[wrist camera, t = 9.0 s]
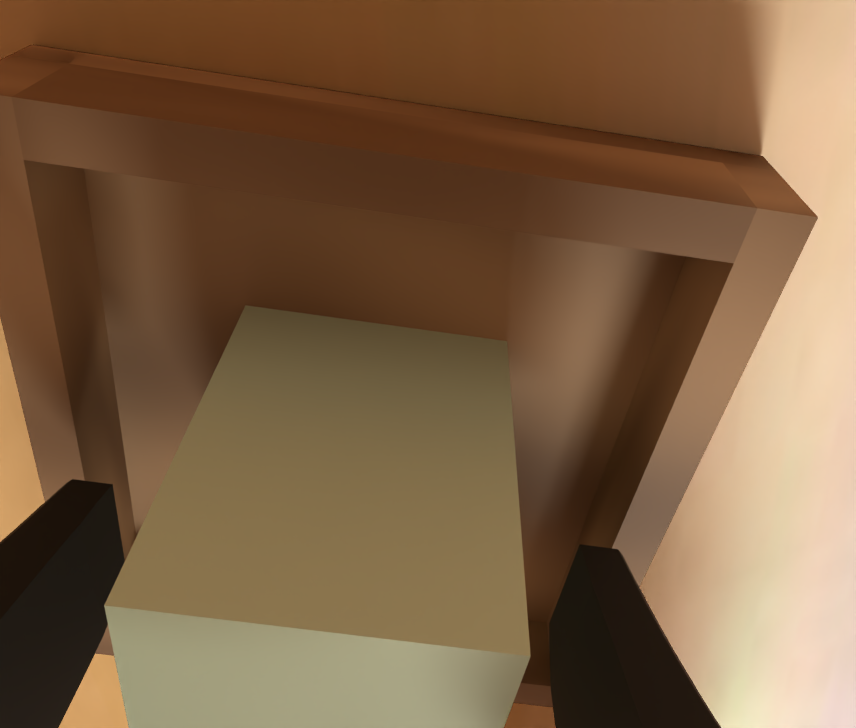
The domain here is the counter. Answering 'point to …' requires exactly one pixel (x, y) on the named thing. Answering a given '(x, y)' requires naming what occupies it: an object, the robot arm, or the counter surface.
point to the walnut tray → (380, 278)
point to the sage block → (332, 538)
